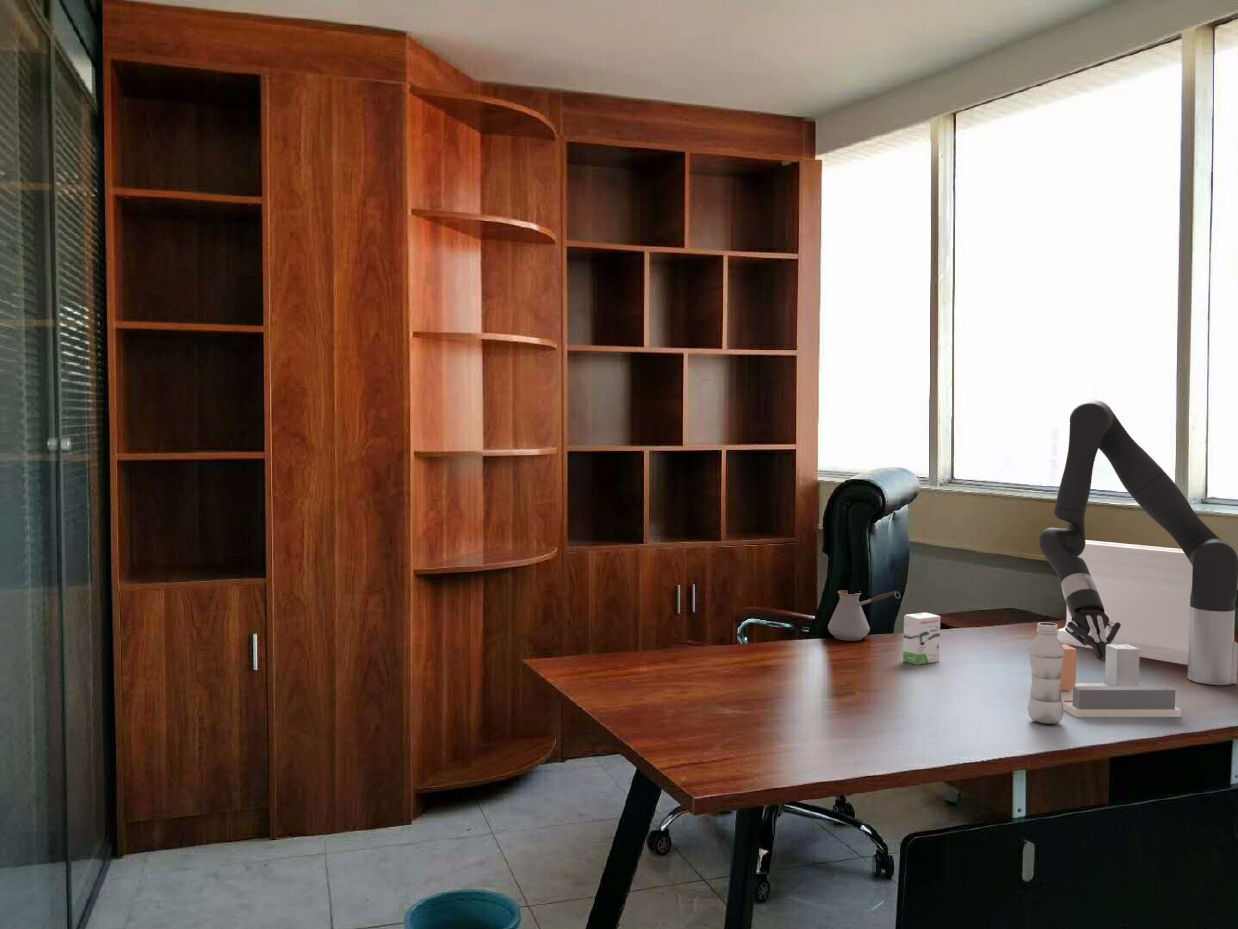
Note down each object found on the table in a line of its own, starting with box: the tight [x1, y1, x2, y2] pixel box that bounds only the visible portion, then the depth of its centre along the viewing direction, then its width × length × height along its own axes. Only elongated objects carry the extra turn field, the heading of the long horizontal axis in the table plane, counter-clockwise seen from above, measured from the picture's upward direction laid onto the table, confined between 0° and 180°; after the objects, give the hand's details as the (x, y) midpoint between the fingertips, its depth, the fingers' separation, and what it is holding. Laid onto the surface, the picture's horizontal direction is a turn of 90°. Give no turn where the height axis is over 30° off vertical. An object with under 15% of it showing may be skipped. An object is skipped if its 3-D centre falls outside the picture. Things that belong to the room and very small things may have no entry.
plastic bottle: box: [1027, 621, 1065, 725], centre depth 213 cm, size 6×7×20 cm
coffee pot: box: [827, 589, 901, 642], centre depth 291 cm, size 21×12×15 cm, turn 44°
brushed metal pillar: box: [1104, 644, 1141, 686], centre depth 234 cm, size 5×5×9 cm
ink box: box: [902, 612, 941, 666], centre depth 267 cm, size 9×5×12 cm, turn 123°
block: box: [1056, 539, 1193, 666], centre depth 280 cm, size 35×8×28 cm, turn 41°
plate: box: [1030, 682, 1182, 718], centre depth 229 cm, size 22×22×6 cm
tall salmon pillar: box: [1060, 643, 1077, 690], centre depth 234 cm, size 5×5×9 cm
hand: (1104, 659), depth 242 cm, fingers closed
